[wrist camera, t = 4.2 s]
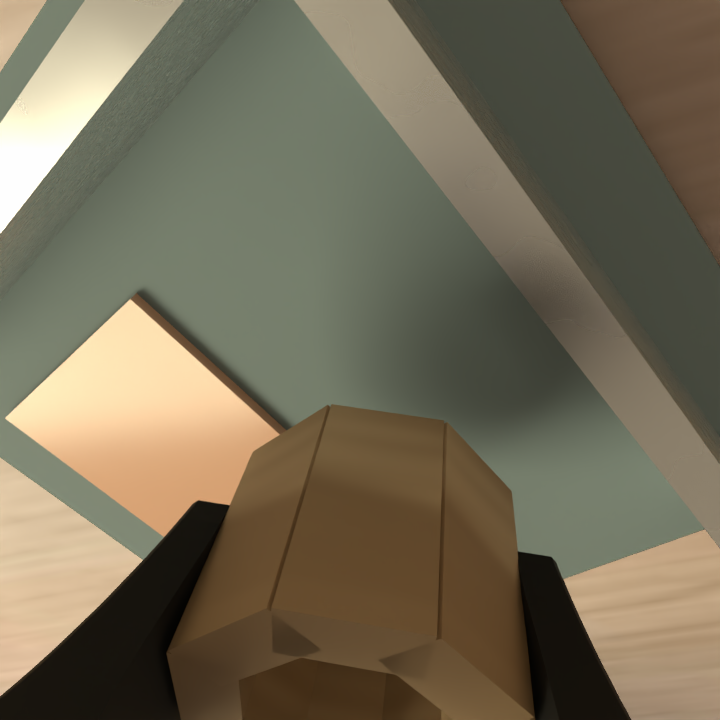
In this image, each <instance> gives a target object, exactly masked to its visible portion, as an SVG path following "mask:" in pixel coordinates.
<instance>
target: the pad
mask: <svg viewBox="0 0 720 720" xmlns="http://www.w3.org/2000/svg"><path fill="white" fill-rule="evenodd" d="M5 419H6V420H8V421H9V422H10V423H12V424H13V425H15V426H16V427H17V428H19V429H20V430H21V431H23V432H24V433H25V434H27V435H28V436H29V437H31V438H32V439H33V440H35V441H36V442H37V443H39V444H40V445H41V446H43V447H44V448H45V449H47V450H48V451H49V452H51V453H52V454H53V455H55V456H56V457H57V458H59V459H60V460H61V461H63V462H64V463H65V464H67V465H68V466H69V467H71V468H72V469H73V470H75V471H76V472H77V473H79V474H80V475H81V476H83V477H84V478H85V479H87V480H88V481H90V482H91V483H92V484H94V485H95V486H96V487H98V488H99V489H100V490H102V491H103V492H104V493H106V494H107V495H108V496H110V497H111V498H112V499H114V500H115V501H116V502H118V503H119V504H120V505H122V506H123V507H124V508H126V509H127V510H128V511H130V512H131V513H132V514H134V515H135V516H136V517H138V518H139V519H140V520H142V521H143V522H144V523H146V524H147V525H148V526H150V527H151V528H152V529H154V530H155V531H156V532H158V533H159V534H161V535H162V536H163V537H165V536H166V534H167V533H168V532H169V531H170V530H171V529H172V528H173V526H174V525H175V524H176V523H177V522H178V521H179V519H180V518H181V517H182V516H183V515H184V514H185V512H186V511H187V510H188V509H189V508H190V506H191V505H192V504H193V503H195V502H196V501H198V500H200V501H207V502H213V503H219V504H225V505H230V504H231V501H232V499H233V497H234V494H235V492H236V490H237V487H238V485H239V483H240V480H241V478H242V476H243V473H244V471H245V469H246V466H247V464H248V462H249V459H250V457H251V455H252V453H253V451H255V450H256V449H258V448H259V447H261V446H263V445H264V444H266V443H267V442H269V441H271V440H272V439H274V438H275V437H277V436H279V435H280V434H282V433H283V432H285V431H287V430H286V429H284V428H283V427H282V426H281V425H280V424H279V423H278V422H277V421H276V420H275V419H274V418H272V417H271V416H270V415H269V414H268V413H267V412H266V411H265V410H264V409H263V408H262V407H260V406H259V405H258V404H257V403H256V402H255V401H254V400H253V399H252V398H251V397H250V396H248V395H247V394H246V393H245V392H244V391H243V390H242V389H241V388H240V387H239V386H237V385H236V384H235V383H234V382H233V381H232V380H231V379H230V378H229V377H228V376H227V375H225V374H224V373H223V372H222V371H221V370H220V369H219V368H218V367H217V366H216V365H215V364H213V363H212V362H211V361H210V360H209V359H208V358H207V357H206V356H205V355H204V354H202V353H201V352H200V351H199V350H198V349H197V348H196V347H195V346H194V345H193V344H192V343H190V342H189V341H188V340H187V339H186V338H185V337H184V336H183V335H182V334H181V333H180V332H178V331H177V330H176V329H175V328H174V327H173V326H172V325H171V324H170V323H169V322H167V321H166V320H165V319H164V318H163V317H162V316H161V315H160V314H159V313H158V312H157V311H155V310H154V309H153V308H152V307H151V306H150V305H149V304H148V303H147V302H146V301H145V300H143V299H142V298H141V297H140V296H139V295H138V294H137V293H136V294H135V295H134V296H133V297H132V298H131V299H130V300H129V301H128V302H126V303H125V304H124V305H123V306H122V307H121V308H120V309H119V310H118V311H117V312H116V313H115V314H114V315H113V316H112V317H111V318H110V319H109V320H108V321H106V322H105V323H104V324H103V325H102V326H101V327H100V328H99V329H98V330H97V331H96V332H95V333H94V334H93V335H92V336H91V337H90V338H89V339H87V340H86V341H85V342H84V343H83V344H82V345H81V346H80V347H79V348H78V349H77V350H76V351H75V352H74V353H73V354H72V355H71V356H70V357H69V358H67V359H66V360H65V361H64V362H63V363H62V364H61V365H60V366H59V367H58V368H57V369H56V370H55V371H54V372H53V373H52V374H51V375H50V376H49V377H47V378H46V379H45V380H44V381H43V382H42V383H41V384H40V385H39V386H38V387H37V388H36V389H35V390H34V391H33V392H32V393H31V394H30V395H29V396H27V397H26V398H25V399H24V400H23V401H22V402H21V403H20V404H19V405H18V406H17V407H16V408H15V409H14V410H13V411H12V412H11V413H10V414H9V415H8V416H7V417H6V418H5Z"/></svg>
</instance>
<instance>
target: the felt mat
mask: <svg viewBox="0 0 720 720" xmlns="http://www.w3.org/2000/svg"><path fill="white" fill-rule="evenodd" d="M84 1H85V0H47V1H46V3H45V4H44V6H43V7H42V9H41V11H40V12H39V14H38V15H37V17H36V18H35V20H34V21H33V23H32V24H31V26H30V28H29V29H28V31H27V32H26V34H25V35H24V37H23V38H22V40H21V41H20V43H19V44H18V46H17V48H16V49H15V51H14V52H13V54H12V55H11V57H10V58H9V60H8V61H7V63H6V64H5V66H4V68H3V69H2V71H1V72H0V123H1V121H2V120H3V119H4V117H5V116H6V114H7V113H8V111H9V110H10V108H11V107H12V105H13V104H14V103H15V101H16V100H17V98H18V97H19V95H20V94H21V92H22V91H23V89H24V88H25V87H26V85H27V84H28V82H29V81H30V79H31V78H32V76H33V75H34V73H35V72H36V71H37V69H38V68H39V66H40V65H41V63H42V62H43V60H44V59H45V57H46V56H47V55H48V53H49V52H50V50H51V49H52V47H53V46H54V44H55V43H56V41H57V40H58V39H59V37H60V36H61V34H62V33H63V31H64V30H65V28H66V27H67V25H68V24H69V23H70V21H71V20H72V18H73V17H74V15H75V14H76V12H77V11H78V9H79V8H80V7H81V5H82V4H83V2H84ZM416 2H417V3H418V4H419V6H420V7H421V9H422V10H423V12H424V13H425V14H426V16H427V17H428V19H429V20H430V22H431V23H432V25H433V26H434V27H435V29H436V30H437V32H438V33H439V35H440V36H441V37H442V39H443V40H444V42H445V43H446V45H447V46H448V47H449V49H450V50H451V52H452V53H453V55H454V56H455V58H456V59H457V60H458V62H459V63H460V65H461V66H462V68H463V69H464V70H465V72H466V73H467V75H468V76H469V78H470V79H471V81H472V82H473V83H474V85H475V86H476V88H477V89H478V91H479V92H480V93H481V95H482V96H483V98H484V99H485V101H486V102H487V104H488V105H489V106H490V108H491V109H492V111H493V112H494V114H495V115H496V116H497V118H498V119H499V121H500V122H501V124H502V125H503V126H504V128H505V129H506V131H507V132H508V134H509V135H510V137H511V138H512V139H513V141H514V142H515V144H516V145H517V147H518V148H519V149H520V151H521V152H522V154H523V155H524V157H525V158H526V160H527V161H528V162H529V164H530V165H531V167H532V168H533V170H534V171H535V172H536V174H537V175H538V177H539V178H540V180H541V181H542V183H543V184H544V185H545V187H546V188H547V190H548V191H549V193H550V194H551V195H552V197H553V198H554V200H555V201H556V203H557V204H558V205H559V207H560V208H561V210H562V211H563V213H564V214H565V216H566V217H567V218H568V220H569V221H570V223H571V224H572V226H573V227H574V228H575V230H576V231H577V233H578V234H579V236H580V237H581V239H582V240H583V241H584V243H585V244H586V246H587V247H588V249H589V250H590V251H591V253H592V254H593V256H594V257H595V259H596V260H597V262H598V263H599V264H600V266H601V267H602V269H603V270H604V272H605V273H606V274H607V276H608V277H609V279H610V280H611V282H612V283H613V284H614V286H615V287H616V289H617V290H618V292H619V293H620V295H621V296H622V297H623V299H624V300H625V302H626V303H627V305H628V306H629V307H630V309H631V310H632V312H633V313H634V315H635V316H636V318H637V319H638V320H639V322H640V323H641V325H642V326H643V328H644V329H645V330H646V332H647V333H648V335H649V336H650V338H651V339H652V341H653V342H654V343H655V345H656V346H657V348H658V349H659V351H660V352H661V353H662V355H663V356H664V358H665V359H666V361H667V362H668V363H669V365H670V366H671V368H672V369H673V371H674V372H675V374H676V375H677V376H678V378H679V379H680V381H681V382H682V384H683V385H684V386H685V388H686V389H687V391H688V392H689V394H690V395H691V397H692V398H693V399H694V401H695V402H696V404H697V405H698V407H699V408H700V409H701V411H702V412H703V414H704V415H705V417H706V418H707V419H708V421H709V422H710V424H711V425H712V427H713V428H714V430H715V431H716V432H717V434H718V435H719V437H720V266H719V265H718V263H717V261H716V260H715V258H714V256H713V255H712V253H711V251H710V250H709V248H708V246H707V245H706V243H705V241H704V240H703V238H702V236H701V235H700V233H699V231H698V230H697V228H696V226H695V225H694V223H693V221H692V220H691V218H690V216H689V215H688V213H687V211H686V210H685V208H684V206H683V205H682V203H681V201H680V200H679V198H678V196H677V195H676V193H675V191H674V190H673V188H672V186H671V185H670V183H669V181H668V180H667V178H666V176H665V175H664V173H663V171H662V170H661V168H660V166H659V165H658V163H657V161H656V160H655V158H654V156H653V155H652V153H651V151H650V150H649V148H648V146H647V145H646V143H645V141H644V140H643V138H642V136H641V135H640V133H639V131H638V130H637V128H636V126H635V125H634V123H633V121H632V120H631V118H630V116H629V115H628V113H627V111H626V110H625V108H624V106H623V105H622V103H621V101H620V100H619V98H618V96H617V95H616V93H615V91H614V90H613V88H612V86H611V85H610V83H609V81H608V80H607V78H606V76H605V75H604V73H603V71H602V70H601V68H600V66H599V65H598V63H597V61H596V60H595V58H594V56H593V55H592V53H591V51H590V50H589V48H588V46H587V45H586V43H585V41H584V40H583V38H582V36H581V35H580V33H579V31H578V30H577V28H576V26H575V25H574V23H573V22H572V20H571V18H570V17H569V15H568V13H567V12H566V10H565V8H564V7H563V5H562V3H561V2H560V0H416ZM136 293H137V294H138V295H139V296H140V297H141V298H142V299H143V300H145V301H146V302H147V303H148V304H149V305H150V306H151V307H152V308H153V309H154V310H155V311H157V312H158V313H159V314H160V315H161V316H162V317H163V318H164V319H165V320H166V321H167V322H169V323H170V324H171V325H172V326H173V327H174V328H175V329H176V330H177V331H178V332H180V333H181V334H182V335H183V336H184V337H185V338H186V339H187V340H188V341H189V342H190V343H192V344H193V345H194V346H195V347H196V348H197V349H198V350H199V351H200V352H201V353H202V354H204V355H205V356H206V357H207V358H208V359H209V360H210V361H211V362H212V363H213V364H215V365H216V366H217V367H218V368H219V369H220V370H221V371H222V372H223V373H224V374H225V375H227V376H228V377H229V378H230V379H231V380H232V381H233V382H234V383H235V384H236V385H237V386H239V387H240V388H241V389H242V390H243V391H244V392H245V393H246V394H247V395H248V396H250V397H251V398H252V399H253V400H254V401H255V402H256V403H257V404H258V405H259V406H260V407H262V408H263V409H264V410H265V411H266V412H267V413H268V414H269V415H270V416H271V417H272V418H274V419H275V420H276V421H277V422H278V423H279V424H280V425H281V426H282V427H283V428H284V429H286V430H288V429H290V428H291V427H293V426H295V425H296V424H298V423H299V422H301V421H303V420H304V419H306V418H307V417H309V416H311V415H312V414H314V413H315V412H317V411H319V410H320V409H322V408H323V407H325V406H327V405H329V406H330V407H331V404H334V405H341V406H348V407H355V408H362V409H369V410H376V411H383V412H390V413H397V414H404V415H411V416H418V417H424V418H431V419H438V420H444V423H446V422H448V423H449V424H450V425H451V426H452V427H453V429H454V430H455V431H456V432H457V433H458V434H459V435H460V436H461V437H462V438H463V439H464V440H465V441H466V443H467V444H468V445H469V446H470V447H471V448H472V449H473V450H474V451H475V452H476V453H477V454H478V455H479V456H480V458H481V459H482V460H483V461H484V462H485V463H486V464H487V465H488V466H489V467H490V468H491V469H492V470H493V472H494V473H495V474H496V475H497V476H498V477H499V478H500V479H501V480H502V481H503V482H504V483H505V484H506V485H507V487H508V488H509V489H510V490H511V492H512V498H513V508H514V518H515V528H516V537H517V547H518V551H519V552H525V553H531V554H538V555H544V556H550V557H552V558H553V559H554V560H555V561H556V563H557V566H558V568H559V571H560V573H561V576H562V578H563V579H565V578H567V577H570V576H573V575H576V574H579V573H582V572H584V571H587V570H590V569H593V568H596V567H599V566H602V565H604V564H607V563H610V562H613V561H616V560H619V559H621V558H624V557H627V556H630V555H633V554H636V553H639V552H641V551H644V550H647V549H650V548H653V547H656V546H658V545H661V544H664V543H667V542H670V541H673V540H676V539H678V538H681V537H684V536H687V535H690V534H693V533H695V532H698V531H701V530H704V527H703V526H702V525H701V523H700V522H699V521H698V520H697V518H696V517H695V516H694V514H693V513H692V512H691V511H690V509H689V508H688V507H687V505H686V504H685V503H684V502H683V500H682V499H681V498H680V496H679V495H678V494H677V493H676V491H675V490H674V489H673V487H672V486H671V485H670V484H669V482H668V481H667V480H666V478H665V477H664V476H663V475H662V473H661V472H660V471H659V469H658V468H657V467H656V466H655V464H654V463H653V462H652V460H651V459H650V458H649V456H648V455H647V454H646V453H645V451H644V450H643V449H642V447H641V446H640V445H639V444H638V442H637V441H636V440H635V438H634V437H633V436H632V435H631V433H630V432H629V431H628V429H627V428H626V427H625V426H624V424H623V423H622V422H621V420H620V419H619V418H618V417H617V415H616V414H615V413H614V411H613V410H612V409H611V408H610V406H609V405H608V404H607V402H606V401H605V400H604V399H603V397H602V396H601V395H600V393H599V392H598V391H597V390H596V388H595V387H594V386H593V384H592V383H591V382H590V381H589V379H588V378H587V377H586V375H585V374H584V373H583V372H582V370H581V369H580V368H579V366H578V365H577V364H576V363H575V361H574V360H573V359H572V357H571V356H570V355H569V353H568V352H567V351H566V350H565V348H564V347H563V346H562V344H561V343H560V342H559V341H558V339H557V338H556V337H555V335H554V334H553V333H552V332H551V330H550V329H549V328H548V326H547V325H546V324H545V323H544V321H543V320H542V319H541V317H540V316H539V315H538V314H537V312H536V311H535V310H534V308H533V307H532V306H531V305H530V303H529V302H528V301H527V299H526V298H525V297H524V296H523V294H522V293H521V292H520V290H519V289H518V288H517V287H516V285H515V284H514V283H513V281H512V280H511V279H510V278H509V276H508V275H507V274H506V272H505V271H504V270H503V269H502V267H501V266H500V265H499V263H498V262H497V261H496V260H495V258H494V257H493V256H492V254H491V253H490V252H489V251H488V249H487V248H486V247H485V245H484V244H483V243H482V241H481V240H480V239H479V238H478V236H477V235H476V234H475V232H474V231H473V230H472V229H471V227H470V226H469V225H468V223H467V222H466V221H465V220H464V218H463V217H462V216H461V214H460V213H459V212H458V211H457V209H456V208H455V207H454V205H453V204H452V203H451V202H450V200H449V199H448V198H447V196H446V195H445V194H444V193H443V191H442V190H441V189H440V187H439V186H438V185H437V184H436V182H435V181H434V180H433V178H432V177H431V176H430V175H429V173H428V172H427V171H426V169H425V168H424V167H423V166H422V164H421V163H420V162H419V160H418V159H417V158H416V157H415V155H414V154H413V153H412V151H411V150H410V149H409V148H408V146H407V145H406V144H405V142H404V141H403V140H402V138H401V137H400V136H399V135H398V133H397V132H396V131H395V129H394V128H393V127H392V126H391V124H390V123H389V122H388V120H387V119H386V118H385V117H384V115H383V114H382V113H381V111H380V110H379V109H378V108H377V106H376V105H375V104H374V102H373V101H372V100H371V99H370V97H369V96H368V95H367V93H366V92H365V91H364V90H363V88H362V87H361V86H360V84H359V83H358V82H357V81H356V79H355V78H354V77H353V75H352V74H351V73H350V72H349V70H348V69H347V68H346V66H345V65H344V64H343V63H342V61H341V60H340V59H339V57H338V56H337V55H336V54H335V52H334V51H333V50H332V48H331V47H330V46H329V45H328V43H327V42H326V41H325V39H324V38H323V37H322V36H321V34H320V33H319V32H318V30H317V29H316V28H315V26H314V25H313V24H312V23H311V21H310V20H309V19H308V17H307V16H306V15H305V14H304V12H303V11H302V10H301V8H300V7H299V6H298V5H297V3H296V2H295V1H294V0H260V1H259V2H258V3H257V4H256V5H255V6H254V7H253V9H252V10H251V11H250V12H249V13H248V14H247V16H246V17H245V18H244V19H243V20H242V21H241V23H240V24H239V25H238V26H237V27H236V28H235V29H234V31H233V32H232V33H231V34H230V35H229V36H228V38H227V39H226V40H225V41H224V42H223V43H222V44H221V46H220V47H219V48H218V49H217V50H216V51H215V53H214V54H213V55H212V56H211V57H210V58H209V59H208V61H207V62H206V63H205V64H204V65H203V66H202V68H201V69H200V70H199V71H198V72H197V73H196V75H195V76H194V77H193V78H192V79H191V80H190V81H189V83H188V84H187V85H186V86H185V87H184V88H183V90H182V91H181V92H180V93H179V94H178V95H177V96H176V98H175V99H174V100H173V101H172V102H171V103H170V105H169V106H168V107H167V108H166V109H165V110H164V111H163V113H162V114H161V115H160V116H159V117H158V118H157V120H156V121H155V122H154V123H153V124H152V125H151V127H150V128H149V129H148V130H147V131H146V132H145V133H144V135H143V136H142V137H141V138H140V139H139V140H138V142H137V143H136V144H135V145H134V146H133V147H132V148H131V150H130V151H129V152H128V153H127V154H126V155H125V157H124V158H123V159H122V160H121V161H120V162H119V164H118V165H117V166H116V167H115V168H114V169H113V170H112V172H111V173H110V174H109V175H108V176H107V177H106V179H105V180H104V181H103V182H102V183H101V184H100V185H99V187H98V188H97V189H96V190H95V191H94V192H93V194H92V195H91V196H90V197H89V198H88V199H87V200H86V202H85V203H84V204H83V205H82V206H81V207H80V209H79V210H78V211H77V212H76V213H75V214H74V216H73V217H72V218H71V219H70V220H69V221H68V222H67V224H66V225H65V226H64V227H63V228H62V229H61V231H60V232H59V233H58V234H57V235H56V236H55V237H54V239H53V240H52V241H51V242H50V243H49V244H48V246H47V247H46V248H45V249H44V250H43V251H42V252H41V254H40V255H39V256H38V257H37V258H36V259H35V261H34V262H33V263H32V264H31V265H30V266H29V268H28V269H27V270H26V271H25V272H24V273H23V274H22V276H21V277H20V278H19V279H18V280H17V281H16V283H15V284H14V285H13V286H12V287H11V288H10V289H9V291H8V292H7V293H6V294H5V295H4V296H3V298H2V299H1V300H0V457H1V458H2V459H3V460H5V461H6V462H7V463H9V464H10V465H12V466H13V467H14V468H16V469H17V470H19V471H20V472H21V473H23V474H24V475H26V476H27V477H28V478H30V479H31V480H33V481H34V482H35V483H37V484H38V485H40V486H41V487H42V488H44V489H45V490H46V491H48V492H49V493H51V494H52V495H53V496H55V497H56V498H58V499H59V500H60V501H62V502H63V503H65V504H66V505H67V506H69V507H70V508H72V509H73V510H74V511H76V512H77V513H79V514H80V515H81V516H83V517H84V518H86V519H87V520H88V521H90V522H91V523H92V524H94V525H95V526H97V527H98V528H99V529H101V530H102V531H104V532H105V533H106V534H108V535H109V536H111V537H112V538H113V539H115V540H116V541H118V542H119V543H120V544H122V545H123V546H125V547H126V548H127V549H129V550H130V551H132V552H133V553H134V554H136V555H137V556H138V557H140V558H141V559H143V560H144V559H145V558H146V557H147V555H148V554H149V553H150V552H151V551H152V550H153V549H154V548H155V547H156V546H157V545H158V543H159V542H160V541H161V540H162V539H163V538H164V537H163V536H162V535H161V534H159V533H158V532H156V531H155V530H154V529H152V528H151V527H150V526H148V525H147V524H146V523H144V522H143V521H142V520H140V519H139V518H138V517H136V516H135V515H134V514H132V513H131V512H130V511H128V510H127V509H126V508H124V507H123V506H122V505H120V504H119V503H118V502H116V501H115V500H114V499H112V498H111V497H110V496H108V495H107V494H106V493H104V492H103V491H102V490H100V489H99V488H98V487H96V486H95V485H94V484H92V483H91V482H90V481H88V480H87V479H85V478H84V477H83V476H81V475H80V474H79V473H77V472H76V471H75V470H73V469H72V468H71V467H69V466H68V465H67V464H65V463H64V462H63V461H61V460H60V459H59V458H57V457H56V456H55V455H53V454H52V453H51V452H49V451H48V450H47V449H45V448H44V447H43V446H41V445H40V444H39V443H37V442H36V441H35V440H33V439H32V438H31V437H29V436H28V435H27V434H25V433H24V432H23V431H21V430H20V429H19V428H17V427H16V426H15V425H13V424H12V423H10V422H9V421H8V420H6V419H5V418H6V417H7V416H8V415H9V414H10V413H11V412H12V411H13V410H14V409H15V408H16V407H17V406H18V405H19V404H20V403H21V402H22V401H23V400H24V399H25V398H26V397H27V396H29V395H30V394H31V393H32V392H33V391H34V390H35V389H36V388H37V387H38V386H39V385H40V384H41V383H42V382H43V381H44V380H45V379H46V378H47V377H49V376H50V375H51V374H52V373H53V372H54V371H55V370H56V369H57V368H58V367H59V366H60V365H61V364H62V363H63V362H64V361H65V360H66V359H67V358H69V357H70V356H71V355H72V354H73V353H74V352H75V351H76V350H77V349H78V348H79V347H80V346H81V345H82V344H83V343H84V342H85V341H86V340H87V339H89V338H90V337H91V336H92V335H93V334H94V333H95V332H96V331H97V330H98V329H99V328H100V327H101V326H102V325H103V324H104V323H105V322H106V321H108V320H109V319H110V318H111V317H112V316H113V315H114V314H115V313H116V312H117V311H118V310H119V309H120V308H121V307H122V306H123V305H124V304H125V303H126V302H128V301H129V300H130V299H131V298H132V297H133V296H134V295H135V294H136Z"/></svg>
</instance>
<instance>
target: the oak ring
mask: <svg viewBox="0 0 720 720" xmlns="http://www.w3.org/2000/svg"><path fill="white" fill-rule="evenodd" d="M166 654H167V659H168V663H169V668H170V672H171V677H172V681H173V686H174V690H175V695H176V699H177V704H178V708H179V713H180V717H181V720H535V713H534V704H533V694H532V684H531V674H530V664H529V655H528V645H527V635H526V627H525V620H524V610H523V604H522V595H521V585H520V576H519V566H518V547H517V537H516V528H515V518H514V508H513V498H512V492H511V490H510V489H509V488H508V487H507V485H506V484H505V483H504V482H503V481H502V480H501V479H500V478H499V477H498V476H497V475H496V474H495V473H494V472H493V470H492V469H491V468H490V467H489V466H488V465H487V464H486V463H485V462H484V461H483V460H482V459H481V458H480V456H479V455H478V454H477V453H476V452H475V451H474V450H473V449H472V448H471V447H470V446H469V445H468V444H467V443H466V441H465V440H464V439H463V438H462V437H461V436H460V435H459V434H458V433H457V432H456V431H455V430H454V429H453V427H452V426H451V425H450V424H449V423H448V422H446V423H444V420H438V419H431V418H424V417H418V416H411V415H404V414H397V413H390V412H383V411H376V410H369V409H362V408H355V407H348V406H341V405H334V404H331V407H330V406H329V405H327V406H325V407H323V408H322V409H320V410H319V411H317V412H315V413H314V414H312V415H311V416H309V417H307V418H306V419H304V420H303V421H301V422H299V423H298V424H296V425H295V426H293V427H291V428H290V429H288V430H287V431H285V432H283V433H282V434H280V435H279V436H277V437H275V438H274V439H272V440H271V441H269V442H267V443H266V444H264V445H263V446H261V447H259V448H258V449H256V450H255V451H253V453H252V455H251V457H250V459H249V462H248V464H247V466H246V469H245V471H244V473H243V476H242V478H241V480H240V483H239V485H238V487H237V490H236V492H235V494H234V497H233V499H232V501H231V504H230V507H229V509H228V511H227V514H226V516H225V518H224V521H223V523H222V525H221V527H220V530H219V532H218V534H217V537H216V539H215V541H214V544H213V546H212V548H211V551H210V553H209V555H208V558H207V560H206V562H205V564H204V566H203V569H202V571H201V573H200V576H199V578H198V580H197V583H196V585H195V587H194V590H193V592H192V594H191V597H190V599H189V601H188V604H187V606H186V608H185V611H184V613H183V615H182V618H181V620H180V622H179V625H178V627H177V629H176V632H175V634H174V636H173V639H172V641H171V643H170V646H169V648H168V650H167V653H166Z"/></svg>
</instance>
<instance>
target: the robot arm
mask: <svg viewBox="0 0 720 720" xmlns="http://www.w3.org/2000/svg"><path fill="white" fill-rule="evenodd" d="M229 507H230V505H225V504H219V503H213V502H207V501H200V500H198V501H196V502H195V503H193V504H192V505H191V506H190V508H189V509H188V510H187V511H186V512H185V514H184V515H183V516H182V517H181V518H180V519H179V521H178V522H177V523H176V524H175V525H174V526H173V528H172V529H171V530H170V531H169V532H168V533H167V534H166V536H165V537H164V538H163V539H162V540H161V541H160V542H159V543H158V545H157V546H156V547H155V548H154V549H153V550H152V551H151V552H150V553H149V554H148V555H147V557H146V558H145V559H144V560H143V561H142V562H141V563H140V564H139V565H138V566H137V567H136V568H135V570H134V571H133V572H132V573H131V574H130V575H129V576H128V577H127V578H126V579H125V580H124V581H123V582H122V583H121V584H120V585H119V586H118V587H117V588H116V589H115V590H114V591H113V592H112V593H111V594H110V595H109V597H108V598H107V599H106V600H105V601H104V602H103V603H102V604H101V605H100V606H99V607H98V608H97V609H96V610H95V611H94V612H93V613H92V614H90V615H89V616H88V617H87V618H86V619H85V620H84V621H83V622H82V623H81V624H80V625H79V626H78V627H77V628H76V629H75V630H74V631H73V632H72V633H71V634H70V635H68V636H67V637H66V638H65V639H64V640H63V641H62V642H61V643H60V644H59V645H58V646H57V647H56V648H55V649H54V650H53V651H52V652H50V653H49V654H48V655H47V656H46V657H45V658H44V659H43V660H42V661H41V662H39V663H38V664H37V665H36V666H35V667H34V668H33V669H32V670H30V671H29V672H28V673H27V674H26V675H25V676H24V677H22V678H21V679H20V680H19V681H18V682H17V683H16V684H14V685H13V686H12V687H11V688H10V689H8V690H7V691H6V692H5V693H4V694H3V695H1V696H0V720H181V717H180V713H179V708H178V704H177V699H176V695H175V690H174V686H173V681H172V677H171V672H170V668H169V663H168V659H167V654H166V653H167V650H168V648H169V646H170V643H171V641H172V639H173V636H174V634H175V632H176V629H177V627H178V625H179V622H180V620H181V618H182V615H183V613H184V611H185V608H186V606H187V604H188V601H189V599H190V597H191V594H192V592H193V590H194V587H195V585H196V583H197V580H198V578H199V576H200V573H201V571H202V569H203V566H204V564H205V562H206V560H207V558H208V555H209V553H210V551H211V548H212V546H213V544H214V541H215V539H216V537H217V534H218V532H219V530H220V527H221V525H222V523H223V521H224V518H225V516H226V514H227V511H228V509H229ZM518 566H519V576H520V585H521V595H522V604H523V610H524V620H525V627H526V635H527V645H528V655H529V664H530V674H531V684H532V694H533V704H534V713H535V720H631V718H630V717H629V715H628V713H627V711H626V709H625V707H624V706H623V704H622V702H621V700H620V698H619V696H618V694H617V692H616V690H615V688H614V686H613V684H612V682H611V680H610V678H609V676H608V674H607V673H606V671H605V669H604V667H603V665H602V663H601V661H600V659H599V657H598V655H597V653H596V651H595V649H594V647H593V645H592V642H591V640H590V638H589V636H588V634H587V632H586V630H585V628H584V625H583V623H582V621H581V619H580V617H579V615H578V612H577V610H576V608H575V606H574V604H573V601H572V599H571V597H570V594H569V592H568V590H567V587H566V585H565V583H564V580H563V578H562V576H561V573H560V571H559V568H558V566H557V563H556V561H555V560H554V559H553V558H552V557H550V556H544V555H538V554H531V553H525V552H519V551H518Z"/></svg>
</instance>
